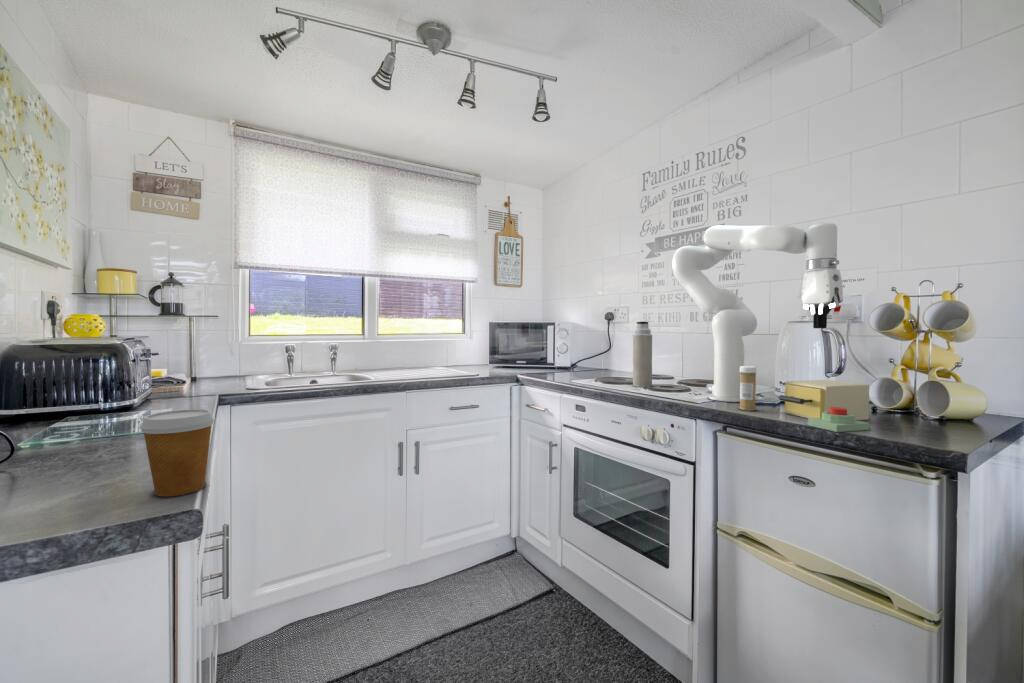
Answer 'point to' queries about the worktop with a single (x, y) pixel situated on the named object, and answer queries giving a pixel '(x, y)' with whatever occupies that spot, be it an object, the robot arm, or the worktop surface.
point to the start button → (837, 411)
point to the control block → (838, 422)
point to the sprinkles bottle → (748, 388)
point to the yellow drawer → (804, 400)
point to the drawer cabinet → (840, 396)
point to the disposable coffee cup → (178, 449)
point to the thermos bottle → (642, 356)
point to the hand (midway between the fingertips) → (819, 328)
